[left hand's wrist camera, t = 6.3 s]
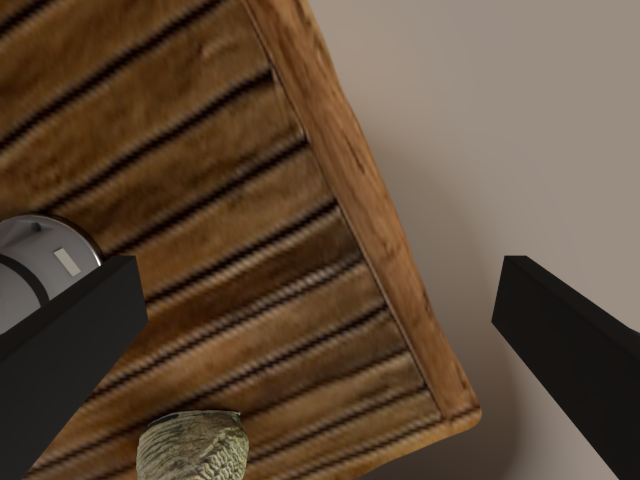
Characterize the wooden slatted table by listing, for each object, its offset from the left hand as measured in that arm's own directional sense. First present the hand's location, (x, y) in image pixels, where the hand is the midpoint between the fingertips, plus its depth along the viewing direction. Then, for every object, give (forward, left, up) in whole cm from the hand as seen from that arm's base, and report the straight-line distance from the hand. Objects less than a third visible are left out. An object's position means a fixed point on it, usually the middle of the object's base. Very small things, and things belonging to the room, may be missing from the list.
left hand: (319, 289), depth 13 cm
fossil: (-39, -26, -32) cm, 57 cm away
